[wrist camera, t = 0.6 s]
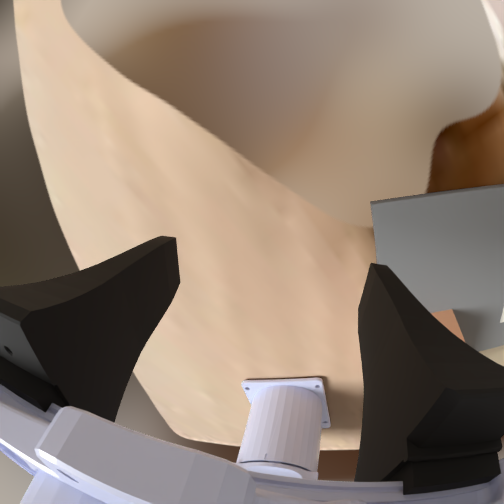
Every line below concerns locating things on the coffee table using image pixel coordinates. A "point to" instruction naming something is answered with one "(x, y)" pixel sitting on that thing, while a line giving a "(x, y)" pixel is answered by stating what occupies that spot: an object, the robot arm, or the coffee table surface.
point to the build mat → (449, 255)
